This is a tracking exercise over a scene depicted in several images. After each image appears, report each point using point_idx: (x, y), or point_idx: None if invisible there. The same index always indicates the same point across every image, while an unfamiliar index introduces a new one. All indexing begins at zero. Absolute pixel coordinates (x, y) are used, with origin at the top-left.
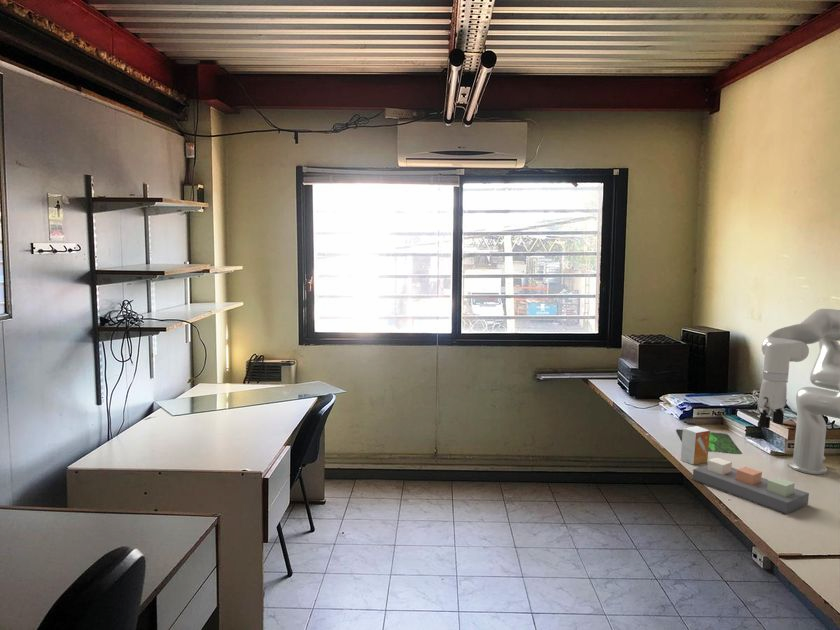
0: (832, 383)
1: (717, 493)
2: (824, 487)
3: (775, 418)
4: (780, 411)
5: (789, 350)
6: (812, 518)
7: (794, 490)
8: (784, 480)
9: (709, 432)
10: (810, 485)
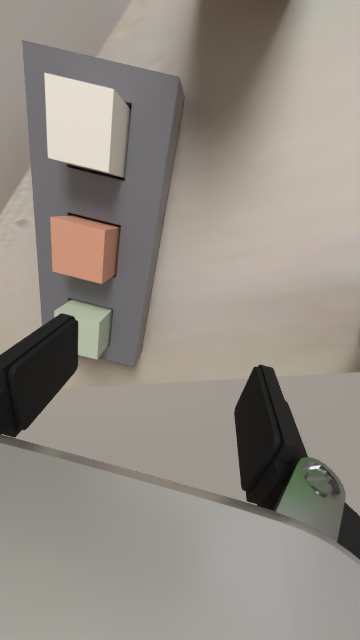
0: None
1: (29, 184)
2: (275, 364)
3: (254, 402)
4: (259, 505)
5: None
6: (85, 364)
7: (124, 344)
8: (90, 340)
9: None
10: (268, 342)
